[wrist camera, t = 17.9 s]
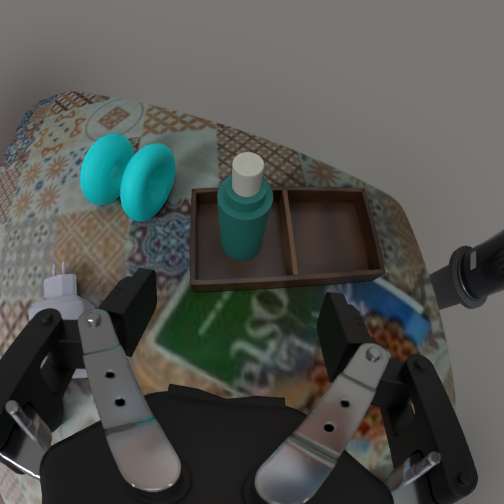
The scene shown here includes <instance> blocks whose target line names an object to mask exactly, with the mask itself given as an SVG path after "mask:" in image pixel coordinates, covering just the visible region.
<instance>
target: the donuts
mask: <svg viewBox="0 0 504 504" xmlns="http://www.w3.org/2000/svg"><path fill="white" fill-rule="evenodd" d="M112 169H113V170H112ZM174 176H175V159H174V156H173V153H172V151H171V150H170V149H169V148H168V147H167V146H165V145H164V144H160V143H153V144H149V145H147V146H145V147H143V148H141V149H140V150H139V151H138V152H137V153H136V154H135V155H134V150H133V147H132V145H131V143H130V141H129V140H128V139H127V138H126V137H125V136H123V135H121V134H117V133H111V134H107V135H105V136H103V137H101V138H99V139H98V140H97V141H96V142H95V143H94V144H93V145H92V146H91V148H90V149H89V151H88V152H87V154H86V156H85V158H84V161H83V164H82V168H81V174H80V183H81V189H82V192H83V194H84V196H85V197H86V199H87V200H88V201H90V202H91V203H93V204H95V205H106V204H109V203H111V202H113V201H115V200H116V199H117V198H118V197H119V196H120V198H121V204H122V207H123V209H124V211H125V213H126V214H127V215H128V216H129V217H130V218H131V219H133V220H136V221H146V220H148V219H150V218H152V217H153V216H155V215H156V214H157V213H158V212H159V211H160V209H161V208H162V207H163V205H164V203H165V202H166V200H167V198H168V196H169V193H170V191H171V188H172V185H173V181H174Z"/></svg>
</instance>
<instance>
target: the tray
mask: <svg viewBox="0 0 504 504" xmlns="http://www.w3.org/2000/svg"><path fill="white" fill-rule="evenodd" d="M270 187H271V189H272V192H273V203H272V206H271V210H270V214H269V217H268V221H267V225H266V229H265V232H264V236H263V240H262V243H261V247H260V250H259V252H258V253H257V255H256V256H255V257H253V258H252V259H250V260H247V261H236V260H233V259H231V258H229V257H228V256H227V255H226V254H225V253H224V252H223V250H222V247H221V239H220V226H219V213H218V199H217V193H218V189H219V188H200V189H192V197H191V229H190V285H191V287H192V289H193V290H194V292H212V291H236V290H256V289H274V288H289V287H304V286H318V285H330V284H342V283H354V282H365V281H373V280H375V279H376V278H378V277H380V276H381V275H383V274H385V269H384V264H383V259H382V254H381V250H380V245H379V241H378V237H377V233H376V228H375V224H374V221H373V217H372V213H371V209H370V206H369V202H368V199H367V195H366V192H365V189H363V188H340V187H296V186H270Z"/></svg>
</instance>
